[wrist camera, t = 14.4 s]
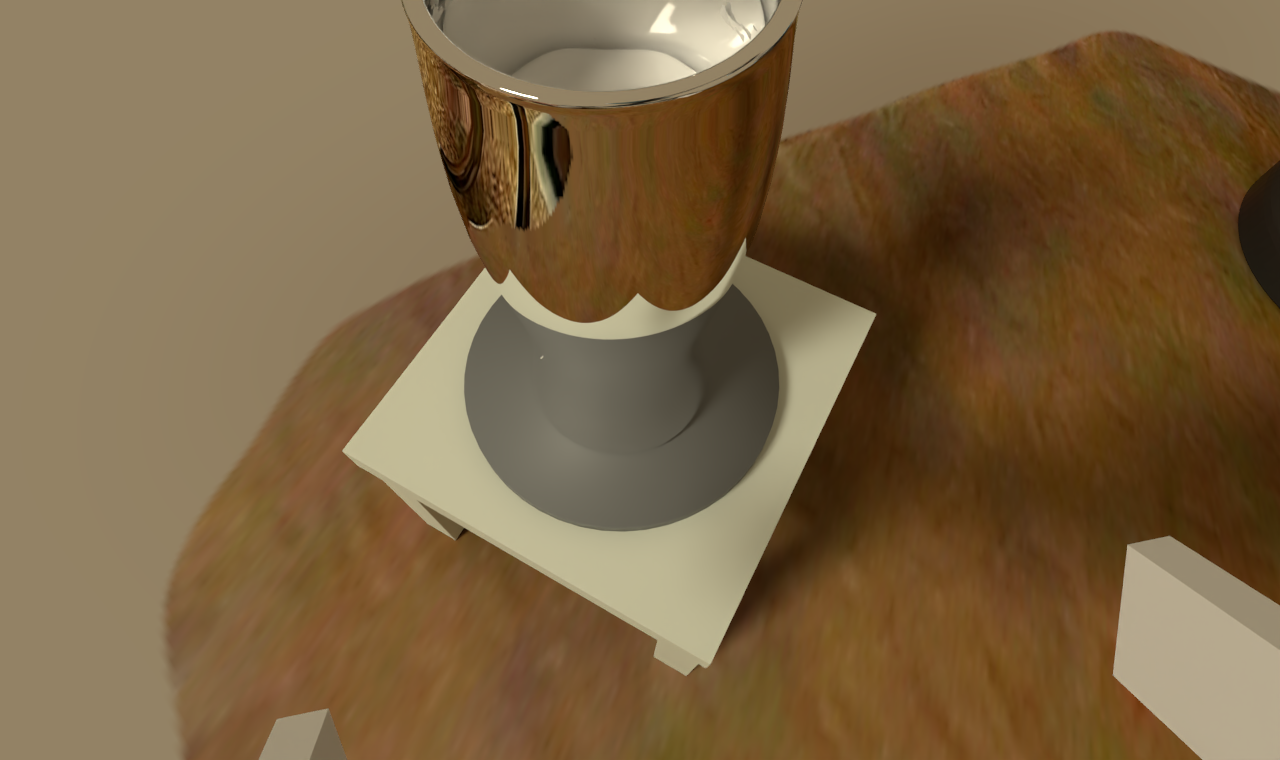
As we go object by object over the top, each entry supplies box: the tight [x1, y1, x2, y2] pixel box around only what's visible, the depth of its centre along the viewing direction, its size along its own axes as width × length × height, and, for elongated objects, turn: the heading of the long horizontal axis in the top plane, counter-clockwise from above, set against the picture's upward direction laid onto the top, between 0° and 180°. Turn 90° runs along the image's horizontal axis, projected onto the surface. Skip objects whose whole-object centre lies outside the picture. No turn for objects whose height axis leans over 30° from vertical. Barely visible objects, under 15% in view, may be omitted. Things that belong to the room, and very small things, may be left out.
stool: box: [342, 256, 876, 676], centre depth 30 cm, size 14×14×11 cm
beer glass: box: [401, 0, 803, 455], centre depth 18 cm, size 7×7×15 cm
